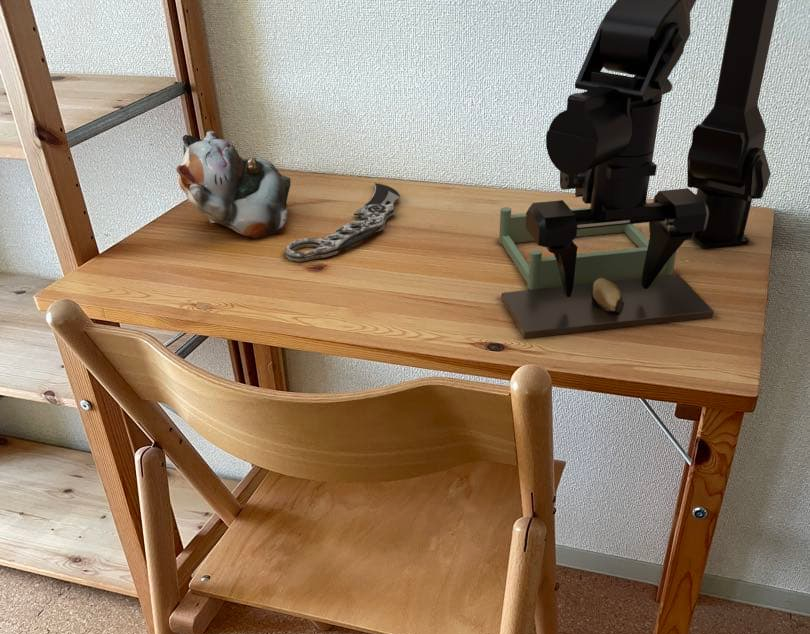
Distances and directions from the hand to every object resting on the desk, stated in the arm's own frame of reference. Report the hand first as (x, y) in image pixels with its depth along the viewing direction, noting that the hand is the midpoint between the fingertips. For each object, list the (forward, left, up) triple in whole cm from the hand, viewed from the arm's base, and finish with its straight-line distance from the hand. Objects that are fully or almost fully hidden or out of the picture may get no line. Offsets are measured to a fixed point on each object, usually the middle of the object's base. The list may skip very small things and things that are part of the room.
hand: (606, 291), depth 97 cm
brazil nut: (0, 0, -1) cm, 1 cm away
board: (0, 0, -2) cm, 2 cm away
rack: (-2, -14, -2) cm, 14 cm away
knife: (+25, -32, -2) cm, 41 cm away
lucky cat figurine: (+41, -36, -2) cm, 55 cm away
